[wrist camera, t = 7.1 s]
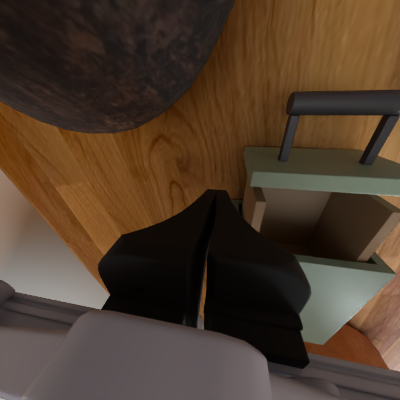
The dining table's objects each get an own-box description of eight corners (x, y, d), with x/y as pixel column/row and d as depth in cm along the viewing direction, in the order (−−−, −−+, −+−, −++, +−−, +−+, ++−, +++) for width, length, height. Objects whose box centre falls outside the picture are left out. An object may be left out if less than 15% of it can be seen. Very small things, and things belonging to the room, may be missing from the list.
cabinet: (232, 199, 22) (232, 253, 14) (331, 207, 20) (397, 274, 12) (224, 265, 30) (222, 325, 22) (296, 275, 28) (322, 345, 20)
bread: (247, 331, 42) (256, 447, 28) (326, 306, 31) (406, 477, 17) (294, 356, 45) (323, 473, 31) (380, 341, 34) (488, 512, 20)
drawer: (251, 95, 15) (266, 88, 9) (389, 93, 13) (541, 83, 7) (232, 235, 25) (232, 283, 18) (312, 244, 23) (345, 301, 16)
